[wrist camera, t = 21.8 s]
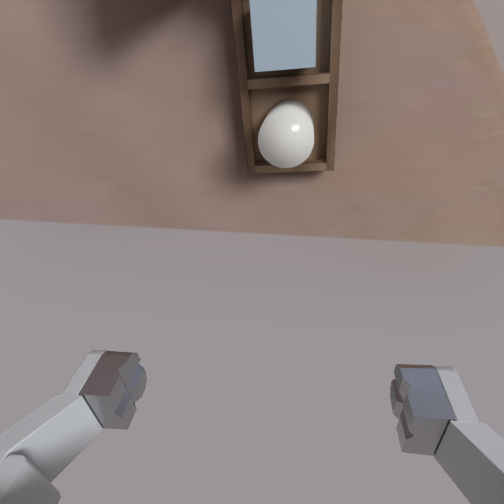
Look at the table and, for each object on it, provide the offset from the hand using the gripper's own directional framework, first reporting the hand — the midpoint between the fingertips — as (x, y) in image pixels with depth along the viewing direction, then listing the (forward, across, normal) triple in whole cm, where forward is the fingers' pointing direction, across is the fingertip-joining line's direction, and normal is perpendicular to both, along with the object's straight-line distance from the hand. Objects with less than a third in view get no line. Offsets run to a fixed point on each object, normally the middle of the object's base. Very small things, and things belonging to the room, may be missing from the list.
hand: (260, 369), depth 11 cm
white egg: (+30, 0, 0) cm, 30 cm away
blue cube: (+30, 0, -8) cm, 31 cm away
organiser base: (+31, 0, -4) cm, 31 cm away
